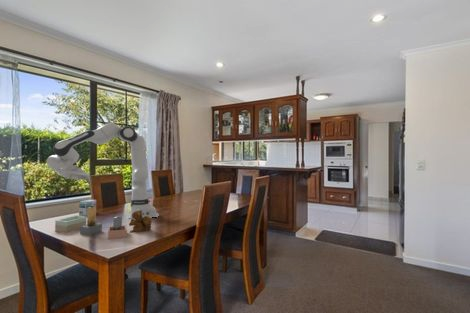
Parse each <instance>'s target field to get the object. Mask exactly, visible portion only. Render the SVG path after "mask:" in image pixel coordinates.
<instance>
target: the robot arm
mask: <svg viewBox="0 0 470 313" xmlns="http://www.w3.org/2000/svg"><path fill="white" fill-rule="evenodd" d="M114 138H117V139H118V140H120V141H121V142H128V143H129V144H130V157H131V169H132V172H131V199H130V210H129V215H128V218H129V219H130V220H132V213H134V212H135V211H140V210H142V217H145V216H148V217H149V218H150V219H153V218H152V217H157V218H159V217H160V214H159V213H158V212H157V209H156V207H154V206H153V205H152V204H151V199H149V198H148V197H147V196H148V194H147V193H148V184H147V183H148V182H147V180H148V177H149V169H148V160H147V146H146V141H145V137H144V136H142V135H138V133H137V132H136V130H135V128H134V127H132V126H129V125H125V126H122V127H121V126H118V124H116V123H115V122H109V123H105V124H104V125H102V126H100V127H98V128H97V129H93V130H85V131H82V132H80V133H78V134H76V135H73V136H71V137H68V138H66V139H62V140H60V141H57V142H56V143H55V144H54V145H53V148H52V152H53V155H50V156H48V157H47V158H46V165H47V167H48V168H49V169H51V170H52V171H54V172H56V173H58V175H59V176H61V177H63V178H65V179H72V180H75V181H79V180H85V181H87V182H91V179H90V177H91V175H90V174H89V173H88V172H87V171H85V170H83V169H82V168H81V167H78V166H76V165H74V164H76V163H77V162H78V161H79V159H80V154H79V153H78V151H77V150H76V149H74V147H76V146H78V145H79V144H82V143H84V142H91V143H94V144H96V145H104V144H106V143H108V142H109V141H111V140H112V139H114ZM54 154H55V155H54ZM158 216H159V217H158ZM133 219H134V218H133Z"/></svg>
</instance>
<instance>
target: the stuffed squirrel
mask: <svg viewBox="0 0 470 313" xmlns="http://www.w3.org/2000/svg"><path fill="white" fill-rule="evenodd" d="M133 218H134V219H133ZM152 223H153V222H152V218H149V217H148V216H145V217H142V210H140V211H135V212H134V213H132V219H130V222H129V223H128V226H130V227H132V226H133V227H132V229H131V230H130V231H129V233H140V232H147V231H150V230H151V229H152V226H151V225H152Z"/></svg>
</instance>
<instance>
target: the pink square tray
mask: <svg viewBox="0 0 470 313" xmlns="http://www.w3.org/2000/svg"><path fill="white" fill-rule="evenodd" d="M107 228H108V229H107V239H108V240H113V239H122V238H127V235H128V234H127V232H128V229H127V225H124V224H123V225H122V227H121V230H114V231H113V226H108V227H107Z"/></svg>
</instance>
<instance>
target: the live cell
mask: <svg viewBox="0 0 470 313" xmlns="http://www.w3.org/2000/svg"><path fill="white" fill-rule="evenodd" d="M96 221H97V206H96V207H94V206H91V207H88V215H87V216H86V225H87V226H95V225H96V223H97V222H96Z"/></svg>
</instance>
